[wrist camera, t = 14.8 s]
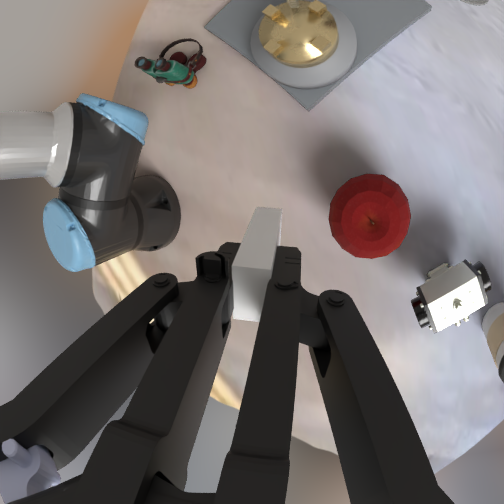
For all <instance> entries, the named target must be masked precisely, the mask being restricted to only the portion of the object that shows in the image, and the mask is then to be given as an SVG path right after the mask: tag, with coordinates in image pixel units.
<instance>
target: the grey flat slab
mask: <svg viewBox="0 0 504 504" xmlns="http://www.w3.org/2000/svg"><path fill="white" fill-rule="evenodd" d="M303 1H310V2H313V1H315V0H303ZM318 1H320V2H321V3H323V4H325V5H326V7H327V10H328V11H329V12H330V13H331V14H332V16H333V17H334V19H335V22H336V25H337V29H338V33H339V44H338V47H337V49H336V51H335V52H334V54H333V55H332V56H331V57H330V58H329V59H328V60H327V61H325V62H323V63H321V64H319V65H317V66H314V67H309V68H293V67H289V66H286V65H283V64H281V63H279V62H278V61H276V60H275V59H274V58H273V57H272V56H271V55H270V54H269V53H268V52H267V51H266V50H265V49H264V48H263V45H262V44H261V42H260V39H259V26H260V23H261V21H262V19H263V17H264V16H265V15H264V14H263V13H262V11H263V10H264V9H265V8H266V7H267V6H269V5H270V4H271V5H273V6H274V7H276V6H278V5H280V4H282V3H285V2H287V1H286V0H232V1H231V2H230V3H228V4H227V5H226V6H225V7H224V8H223V9H222V10H221V11H220V12H219V13H218V14H217V15H216V16H215V17H214V18H213V19H212V20H211V21H210V22H209V23H208V24H207V25H206V26H205V27H204V28H206V29H207V30H208V31H210V32H211V33H213V34H214V35H216V36H217V37H219V38H220V39H222V40H223V41H224V42H226V43H227V44H229V45H230V46H231V47H233V48H234V49H235V50H237V51H238V52H239V53H241V54H242V55H243V56H245V57H246V58H247V59H249V60H250V61H251V62H252V63H254V64H255V65H256V66H257V67H259V68H260V69H261V70H262V71H264V72H265V73H266V74H267V75H268V76H270V77H271V78H272V79H273V80H274V81H276V82H277V83H278V84H279V85H280V86H281V87H282V88H284V89H285V90H286V91H287V92H288V93H289V94H290V95H291V96H293V97H294V98H295V99H296V100H297V101H298V102H299V103H300V104H301V105H302V106H303V107H304V108H306V109H307V110H308V111H310V110H311V109H312V108H313V107H314V106H315V105H317V104H318V103H319V102H320V101H321V100H322V99H323V98H324V97H325V96H326V95H328V94H329V93H330V92H331V91H332V90H333V89H334V88H335V87H337V86H338V85H339V84H340V83H341V82H342V81H343V80H344V79H346V78H347V77H348V76H349V75H350V74H351V73H353V72H354V71H355V70H356V69H357V68H358V67H360V66H361V65H362V64H363V63H364V62H365V61H367V60H368V59H369V58H370V57H371V56H373V55H374V54H375V53H376V52H378V51H379V50H380V49H381V48H382V47H384V46H385V45H386V44H387V43H389V42H390V41H391V40H392V39H394V38H395V37H396V36H398V35H399V34H400V33H401V32H403V31H404V30H405V29H407V28H408V27H409V26H410V25H412V24H413V23H414V22H416V21H417V20H418V19H420V18H421V17H423V16H424V15H425V14H427V13H428V12H429V11H431V8H432V6H431V5H429V4H428V3H427V2H426V1H424V0H318Z"/></svg>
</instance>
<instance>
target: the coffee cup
mask: <svg viewBox="0 0 504 504" xmlns="http://www.w3.org/2000/svg"><path fill="white" fill-rule="evenodd" d="M482 329H483V332H484V334H485V337H486V339H487V343H488V346H489V349H490V351H491V354H492V356H493V359H494V362H495V364H496V367H497V368H498V370H499V376H500V378H501V379H502V381H503V383H504V303H503V302H500V303H497V304H495V305H493V306H492V307H491V308H490V309H489V310H488V311H487V312H486V314H485V316H484V318H483V321H482Z"/></svg>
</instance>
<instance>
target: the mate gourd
mask: <svg viewBox="0 0 504 504" xmlns="http://www.w3.org/2000/svg"><path fill="white" fill-rule="evenodd" d="M461 1H463V2H466V3H468V4H472V5H479V6H480V5H484V4H486V3H487V2H488V1H489V0H461Z"/></svg>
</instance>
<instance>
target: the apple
mask: <svg viewBox="0 0 504 504" xmlns="http://www.w3.org/2000/svg"><path fill="white" fill-rule="evenodd" d="M410 218H411V214H410V208H409V203H408V199H407V197H406V196H405V194H404V192H403V191H402V189H401V188H400V186H399V185H398V184H397V183H395V182H394V181H392V180H391V179H389V178H388V177H386V176H385V175H378V174H364V175H361V176H358V177H354V178H351V179H350V180H348V181H347V182H346V183H345V184H344V185H342V186H341V187H340V188H339V189H338V190H337V192H336V194H335V196H334V198H333V200H332V201H331V203H330V212H329V223H330V228H331V232H332V236H333V237H334V238H335V240H336V241H337V242H338V244H339V245H340V246H341V247H342V249H344V250H345V251H347V252H349V253H350V254H352V255H353V256H355V257H359V258H370V259H373V258H377V257H382V256H387V255H388V254H390V253H391V252H392V251H394V250H395V249H397V248H398V247H399V246H400V245H401V243H402V241H403V239H404V238H405V236H406V234H407V232H408V228H409V223H410Z"/></svg>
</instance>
